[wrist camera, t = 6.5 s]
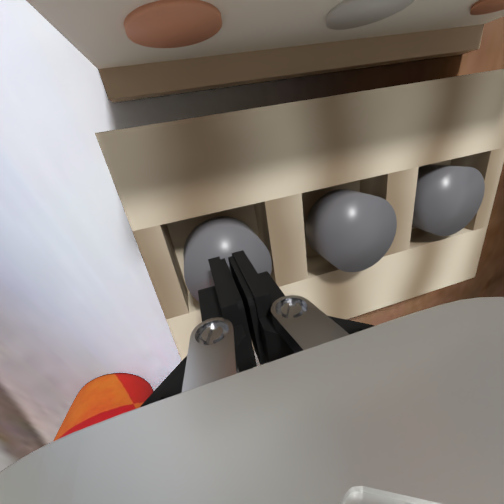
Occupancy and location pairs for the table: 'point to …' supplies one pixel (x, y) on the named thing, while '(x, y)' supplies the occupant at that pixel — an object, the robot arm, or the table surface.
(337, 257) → the middle button
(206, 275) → the button
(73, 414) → the paper cup
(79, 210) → the table surface
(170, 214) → the button board
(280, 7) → the pattern card
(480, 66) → the table surface
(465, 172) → the button
